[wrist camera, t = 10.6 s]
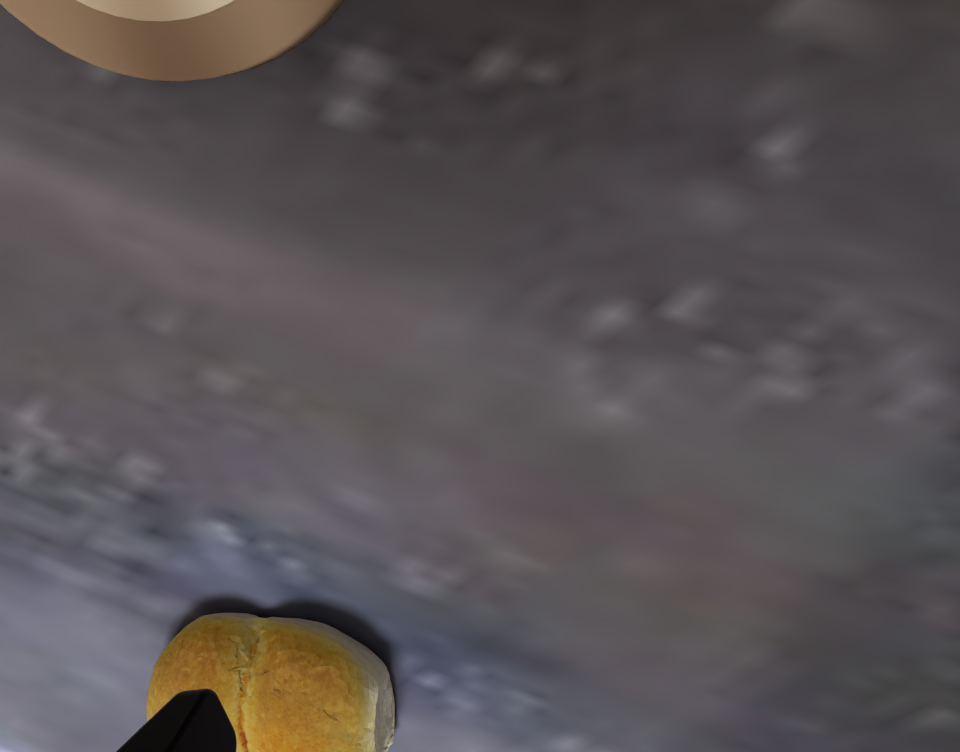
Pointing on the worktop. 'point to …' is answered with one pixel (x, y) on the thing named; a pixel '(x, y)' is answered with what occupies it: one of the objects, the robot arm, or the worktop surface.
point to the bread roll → (281, 683)
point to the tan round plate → (174, 32)
